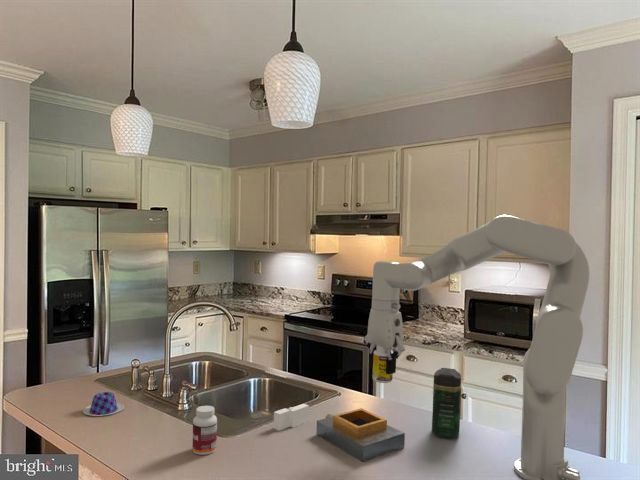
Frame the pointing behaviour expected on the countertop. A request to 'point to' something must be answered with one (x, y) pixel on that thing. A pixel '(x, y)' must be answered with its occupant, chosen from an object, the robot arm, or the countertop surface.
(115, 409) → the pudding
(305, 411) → the white angular block
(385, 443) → the grey bottle holder
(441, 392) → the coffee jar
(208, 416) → the pill bottle
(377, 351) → the supplement bottle
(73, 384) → the countertop surface
